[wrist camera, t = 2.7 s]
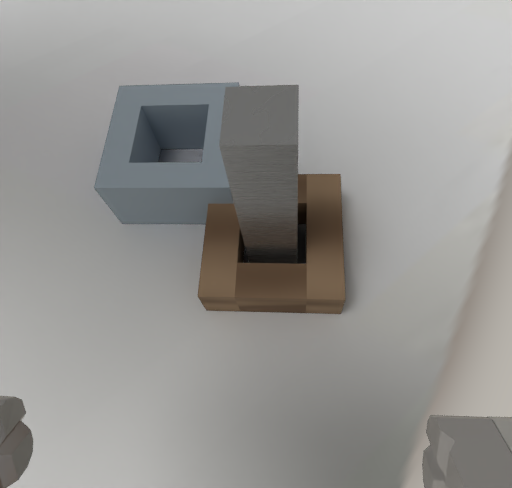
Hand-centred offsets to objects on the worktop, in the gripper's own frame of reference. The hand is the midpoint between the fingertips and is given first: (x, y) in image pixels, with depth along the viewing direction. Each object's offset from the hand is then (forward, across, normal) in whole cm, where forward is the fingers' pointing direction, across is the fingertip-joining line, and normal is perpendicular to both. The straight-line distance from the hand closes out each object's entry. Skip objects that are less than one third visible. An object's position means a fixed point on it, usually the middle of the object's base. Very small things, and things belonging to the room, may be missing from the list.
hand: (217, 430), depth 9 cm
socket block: (+22, 0, +4) cm, 22 cm away
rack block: (+27, +7, 0) cm, 28 cm away
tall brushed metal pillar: (+22, 0, +4) cm, 22 cm away
